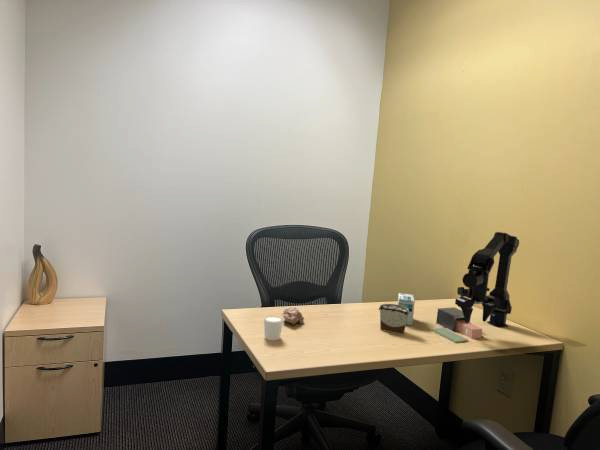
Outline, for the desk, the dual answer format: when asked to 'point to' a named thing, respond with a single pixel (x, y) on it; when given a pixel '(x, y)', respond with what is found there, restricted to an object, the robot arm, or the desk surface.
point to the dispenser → (449, 317)
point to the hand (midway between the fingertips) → (475, 322)
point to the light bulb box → (407, 305)
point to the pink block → (468, 329)
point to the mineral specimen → (293, 315)
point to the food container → (393, 318)
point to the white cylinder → (272, 327)
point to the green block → (449, 335)
